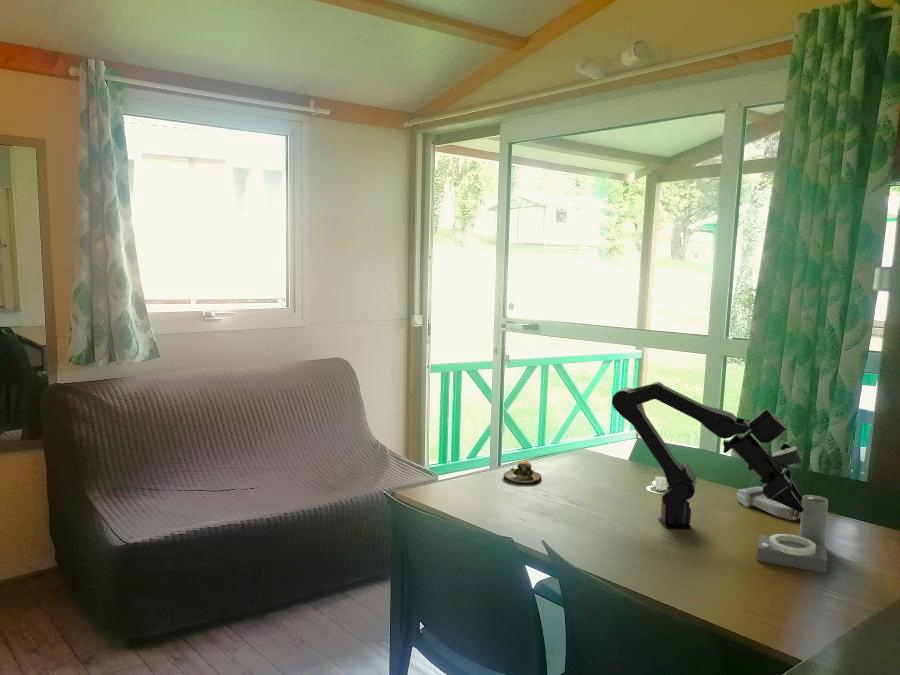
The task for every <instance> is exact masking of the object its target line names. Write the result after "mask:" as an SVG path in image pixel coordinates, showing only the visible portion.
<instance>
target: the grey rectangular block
mask: <svg viewBox="0 0 900 675" xmlns="http://www.w3.org/2000/svg"><path fill="white" fill-rule="evenodd" d="M757 544H758V545H757V553H756V561H758V562H763V563H769V564H774V565H778V566H779V565H780V566H783V567H789V568H795V569H800V570H806V571H810V572H816V573H820V574H825V575H827V573H828V572H827V571H828V551H827V546H826V545H825V546H823V545H817V544H815V543H813V542H812V541H810V540H809V539H806V538H803V537H800V535H796V534H789V533H776V534H773V535H765V534H759V537H758V543H757Z"/></svg>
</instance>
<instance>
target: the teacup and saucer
mask: <svg viewBox="0 0 900 675" xmlns="http://www.w3.org/2000/svg"><path fill="white" fill-rule="evenodd" d="M651 484H652V485H648V486H646V488H645V489H646V490H647V491H648V492H650V493H654V494H657V495H658V494H660V495H663V494H664V492H665V490H666V488H665V487H667V486H666V484H667V480H666V477H664V476H655V480H653V481H652V482H651ZM651 487H652V488H655V490H656V491H653V490H652V491H651ZM657 491H658V492H657ZM663 491H664V492H663Z"/></svg>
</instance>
